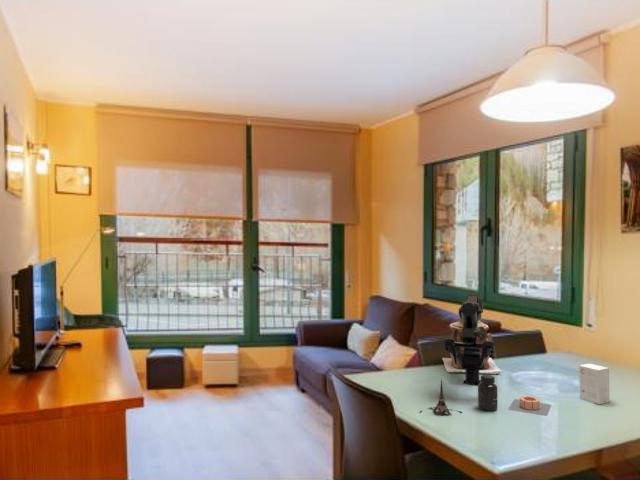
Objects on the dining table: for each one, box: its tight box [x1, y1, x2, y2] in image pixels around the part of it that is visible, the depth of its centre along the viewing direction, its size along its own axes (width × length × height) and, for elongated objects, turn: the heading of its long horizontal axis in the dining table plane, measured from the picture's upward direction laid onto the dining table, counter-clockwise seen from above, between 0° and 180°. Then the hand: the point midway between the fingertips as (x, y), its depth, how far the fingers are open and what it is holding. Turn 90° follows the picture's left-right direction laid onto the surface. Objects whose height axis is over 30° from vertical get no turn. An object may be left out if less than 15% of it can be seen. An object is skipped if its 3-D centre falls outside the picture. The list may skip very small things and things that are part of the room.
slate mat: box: [507, 398, 552, 417], centre depth 176 cm, size 13×13×1 cm
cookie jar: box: [442, 306, 502, 375], centre depth 232 cm, size 25×25×32 cm
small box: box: [578, 363, 611, 405], centre depth 183 cm, size 8×6×13 cm
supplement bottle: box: [477, 374, 499, 413], centre depth 175 cm, size 7×7×12 cm
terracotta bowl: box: [519, 395, 541, 410], centre depth 176 cm, size 7×7×3 cm
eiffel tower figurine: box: [417, 377, 463, 417], centre depth 172 cm, size 15×10×13 cm
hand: (468, 365), depth 184 cm, fingers open, 9 cm apart
